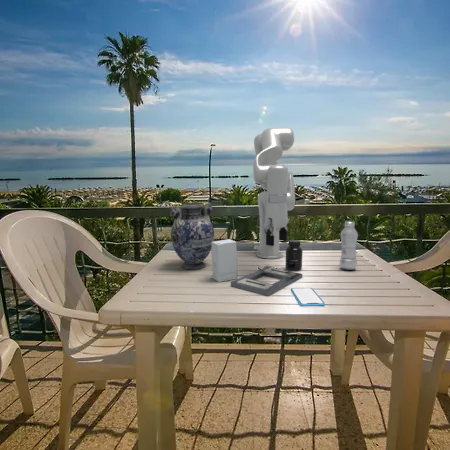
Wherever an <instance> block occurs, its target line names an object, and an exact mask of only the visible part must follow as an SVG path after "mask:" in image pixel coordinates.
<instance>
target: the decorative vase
mask: <svg viewBox="0 0 450 450" xmlns="http://www.w3.org/2000/svg"><path fill="white" fill-rule="evenodd" d="M169 211H170V217H173V218H174V220H173V224H172V225H171V230H170V237H171V238H170V239H171V244H172V247H173V249H174V252H175V253H176V255H177V256H178V257H179V259H180V260H182V261H183V262H182V264H181V268H182V269H185V270H192V271H193V270H199V269H203V268H205V267H206V266H207V265H206V263H205V262H204V261H205V259H206V258H208V256H209V254H210V252H211V251H212V246H211V242H214V241H215V240H214V239H215V230H214V229H215V228H214V225H213V224H212V222H211V219H210V215H211V212H213V204H212V203H211V202H206V203H205V204H203V205H202V204H201V202H197V201H196V202H195V201H194V202H183V203H182V204H181V205H180V207H179V206H177V205H174V206H171V208H170V209H169Z"/></svg>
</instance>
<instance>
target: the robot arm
mask: <svg viewBox="0 0 450 450" xmlns="http://www.w3.org/2000/svg"><path fill="white" fill-rule="evenodd" d="M294 142H295V134H294V131H293V129H292V128H291V127H268V128H266V129H264V130H263V131H262V133H259V134H257V135H256V136H255V137H254V139H253V145H254V146H253V147H254V152H255V154H256V156H255V158H254V159H253V166H252V169H253V170H252V174H253V175H252V176H253V181H254V182H255V183H256V184H258V185H260V186H261V189H264V190H265V191H261V192H260V193H259V194H258V196H257V204H258V205H257V206H258V213H259V245H257V244H255V245H254V246H253V250H254V251H257V252H256V256H257V258H261V259H268V260H270V259H271V260H272V259H273V260H274V259H279V258H282V257H283V253H282V252H281V251H280V241H287V240H288V226H289V221H290V219H289V217H288V211H293V210H294V208H295V207H296V195H295V194H296V192H295V191H296V190H295V181H294V175H293V172H292V171H291V170H290V168H289V167H288V166H287V165H285V164H278V160H280V159H281V158H282V156H283V153H284V151H288V150H290V149H291V148H292V147H293V145H294Z"/></svg>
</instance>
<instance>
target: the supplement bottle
mask: <svg viewBox="0 0 450 450" xmlns="http://www.w3.org/2000/svg"><path fill="white" fill-rule="evenodd" d="M287 245H288V246H286V248H285V263H284V264H285V270H286V271H291V272H298V271H301V270H302V269H303V251H304V250H303V248H302V247H301V240H298V239H297V240H296V239H291V240H290V239H289V240H288V244H287Z"/></svg>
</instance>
